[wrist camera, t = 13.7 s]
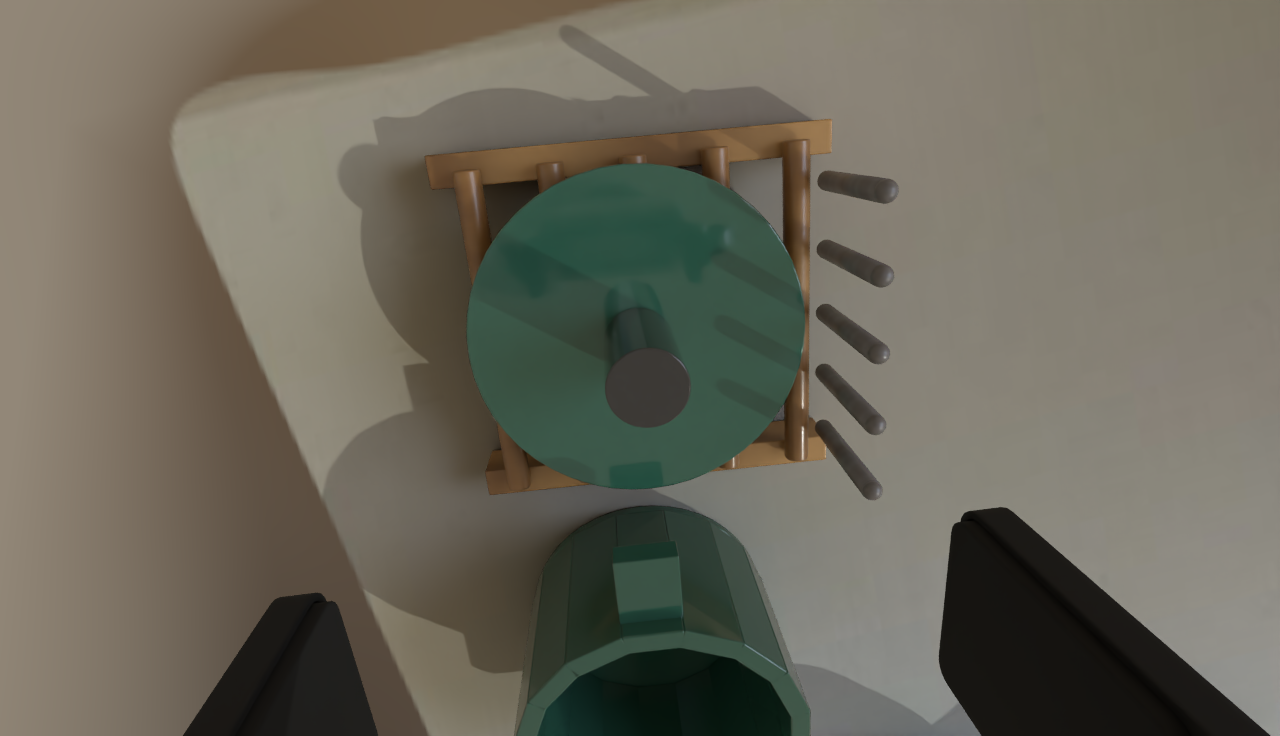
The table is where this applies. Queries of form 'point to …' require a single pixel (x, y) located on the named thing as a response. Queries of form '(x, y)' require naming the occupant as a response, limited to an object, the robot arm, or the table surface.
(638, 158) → the dish rack
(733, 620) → the pot
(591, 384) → the lid
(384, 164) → the table surface
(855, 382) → the table surface
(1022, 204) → the table surface
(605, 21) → the table surface
